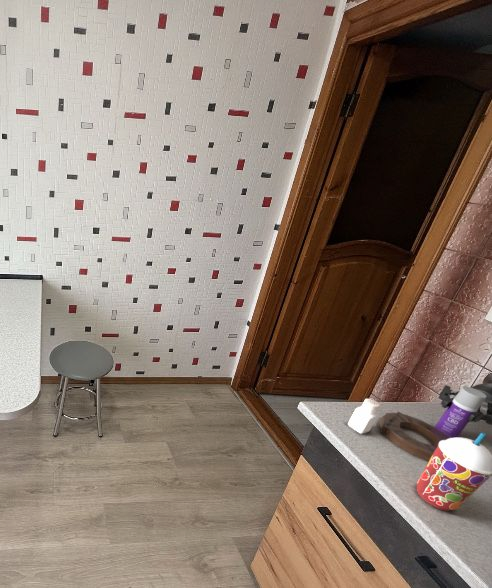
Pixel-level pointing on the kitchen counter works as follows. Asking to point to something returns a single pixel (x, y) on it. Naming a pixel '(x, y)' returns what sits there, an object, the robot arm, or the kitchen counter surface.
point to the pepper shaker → (364, 416)
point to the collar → (393, 431)
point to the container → (460, 411)
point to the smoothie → (455, 472)
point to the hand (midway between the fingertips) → (457, 411)
